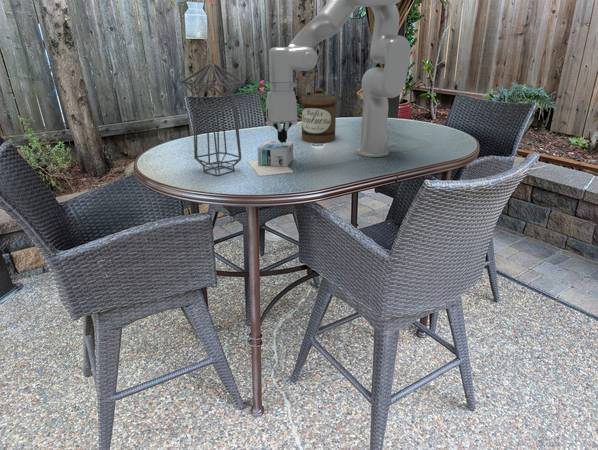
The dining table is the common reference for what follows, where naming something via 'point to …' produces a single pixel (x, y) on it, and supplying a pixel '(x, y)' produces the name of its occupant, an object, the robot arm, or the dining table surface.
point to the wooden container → (318, 117)
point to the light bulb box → (275, 153)
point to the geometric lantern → (218, 71)
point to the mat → (268, 169)
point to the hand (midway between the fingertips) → (282, 141)
